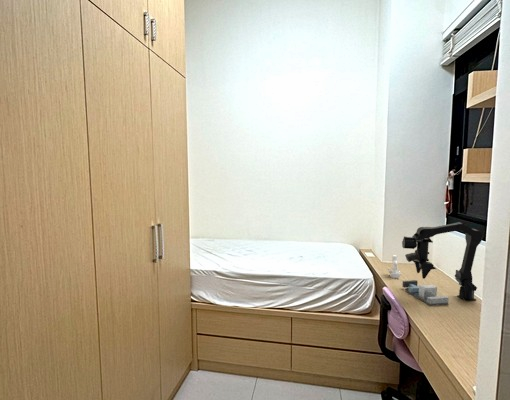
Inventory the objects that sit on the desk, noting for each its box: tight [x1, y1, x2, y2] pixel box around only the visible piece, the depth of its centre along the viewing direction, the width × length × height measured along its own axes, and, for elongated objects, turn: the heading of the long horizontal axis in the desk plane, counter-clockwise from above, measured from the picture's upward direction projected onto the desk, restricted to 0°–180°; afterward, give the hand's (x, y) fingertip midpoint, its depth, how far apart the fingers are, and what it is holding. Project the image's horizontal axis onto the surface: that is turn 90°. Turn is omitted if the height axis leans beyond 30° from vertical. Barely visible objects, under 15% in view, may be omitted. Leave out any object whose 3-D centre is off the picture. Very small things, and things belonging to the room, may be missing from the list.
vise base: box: [405, 288, 450, 307], centre depth 163 cm, size 11×20×4 cm, turn 9°
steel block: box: [418, 284, 438, 299], centre depth 162 cm, size 8×4×6 cm, turn 99°
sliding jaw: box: [402, 279, 419, 293], centre depth 172 cm, size 11×9×4 cm
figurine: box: [387, 254, 402, 279], centre depth 195 cm, size 7×9×15 cm
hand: (420, 275), depth 166 cm, fingers open, 9 cm apart
